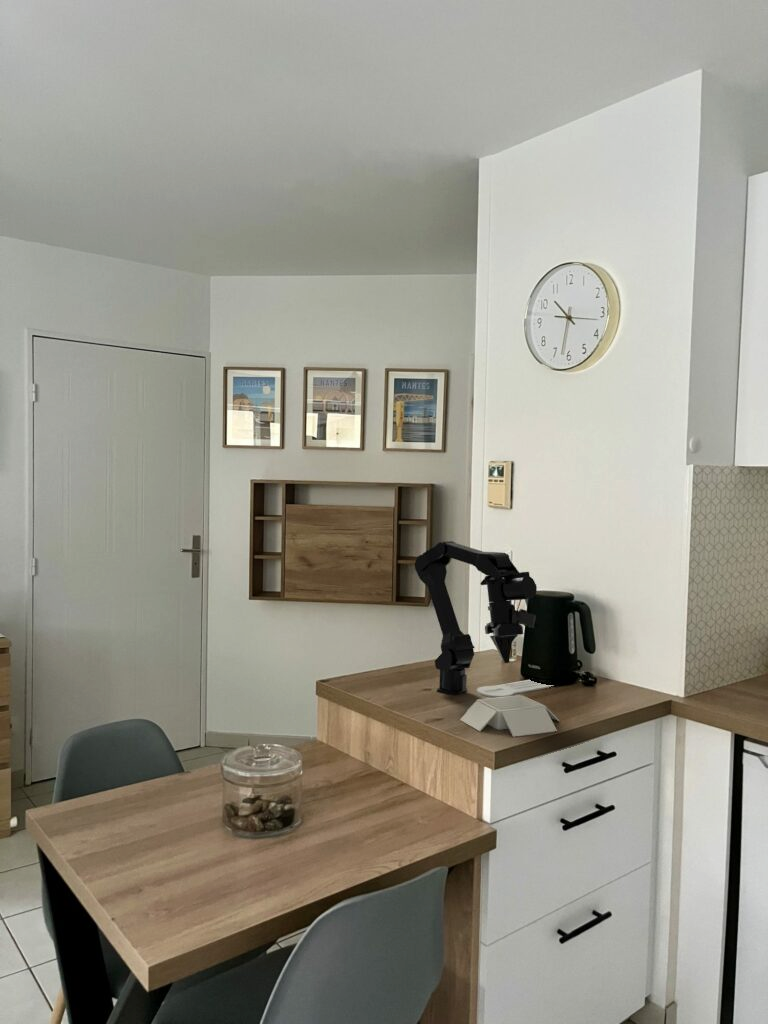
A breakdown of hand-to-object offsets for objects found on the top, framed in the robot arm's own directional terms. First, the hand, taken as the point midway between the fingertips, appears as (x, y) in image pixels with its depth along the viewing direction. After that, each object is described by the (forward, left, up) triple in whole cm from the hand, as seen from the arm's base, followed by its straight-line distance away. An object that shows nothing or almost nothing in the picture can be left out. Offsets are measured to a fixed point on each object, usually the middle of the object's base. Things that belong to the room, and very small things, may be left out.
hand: (506, 662), depth 198 cm
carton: (+5, -10, -12) cm, 16 cm away
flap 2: (+10, -2, -9) cm, 14 cm away
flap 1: (0, -17, -9) cm, 19 cm away
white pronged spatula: (-4, +21, -12) cm, 24 cm away
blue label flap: (+12, -14, -9) cm, 20 cm away
